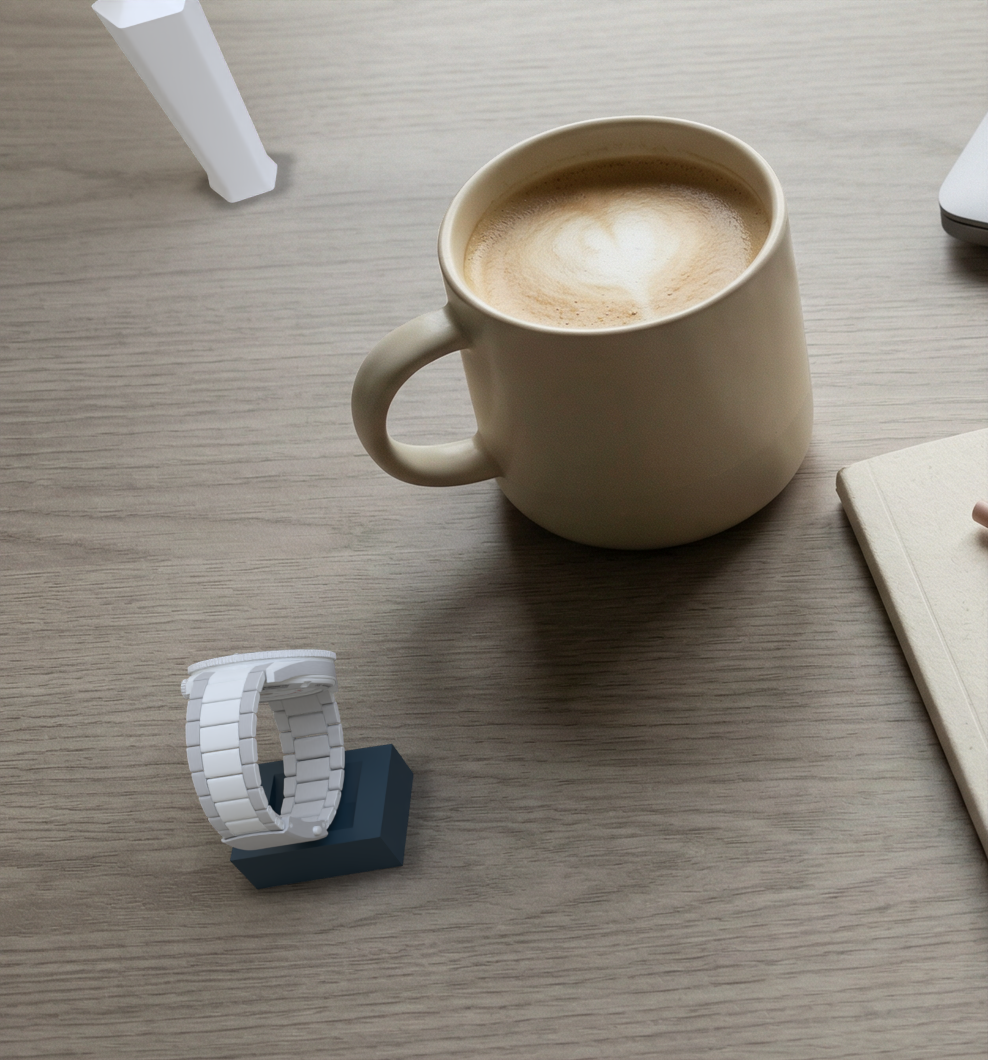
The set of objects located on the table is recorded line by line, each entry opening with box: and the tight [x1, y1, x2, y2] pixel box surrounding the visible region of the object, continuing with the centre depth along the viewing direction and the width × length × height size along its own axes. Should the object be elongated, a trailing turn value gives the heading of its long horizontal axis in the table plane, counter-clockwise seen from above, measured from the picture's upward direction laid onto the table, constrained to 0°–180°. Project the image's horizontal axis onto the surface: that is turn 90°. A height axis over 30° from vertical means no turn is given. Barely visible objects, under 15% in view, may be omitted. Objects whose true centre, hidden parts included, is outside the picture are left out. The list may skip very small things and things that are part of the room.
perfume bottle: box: [91, 0, 278, 204], centre depth 89 cm, size 5×4×15 cm
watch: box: [180, 648, 415, 890], centre depth 65 cm, size 6×8×11 cm
